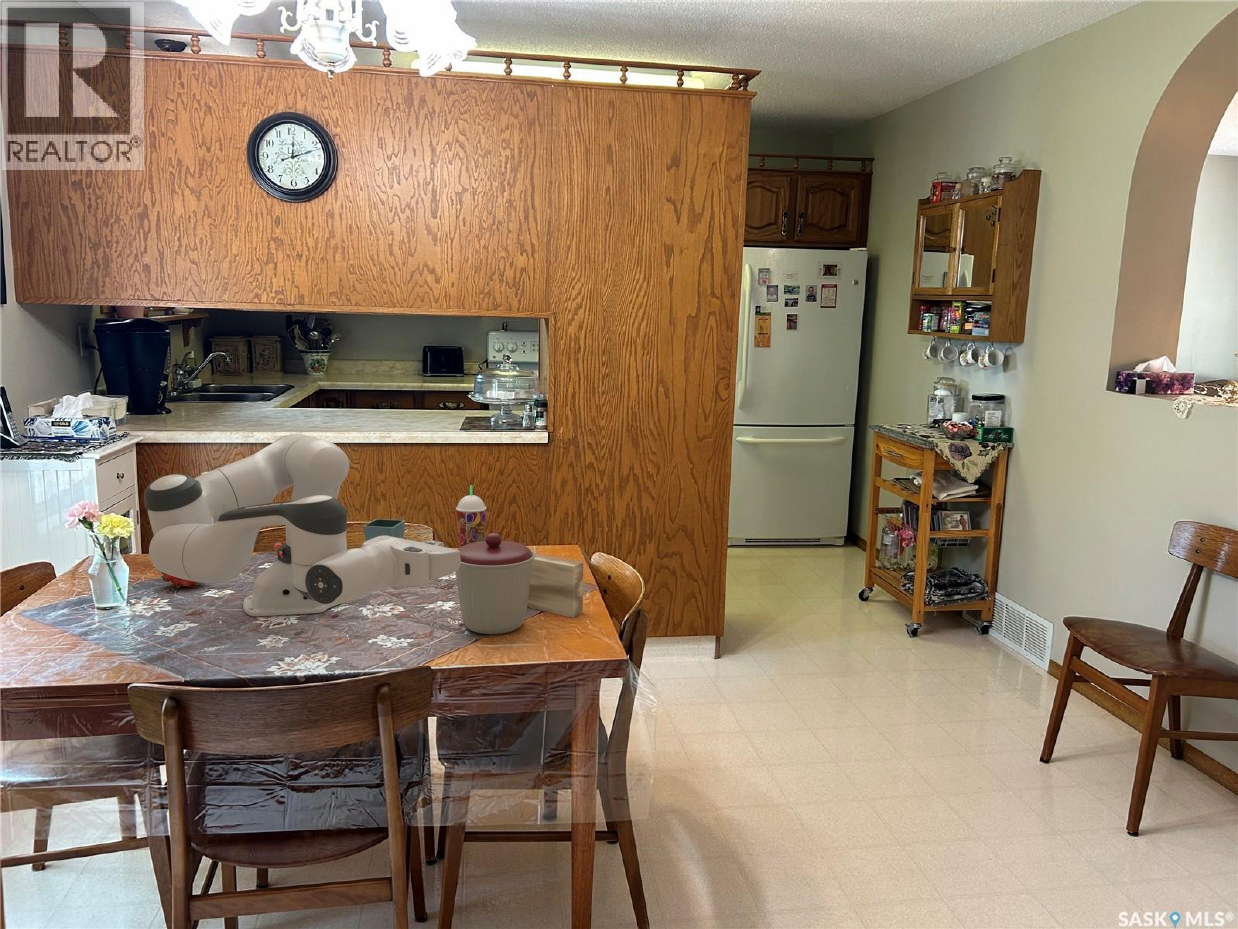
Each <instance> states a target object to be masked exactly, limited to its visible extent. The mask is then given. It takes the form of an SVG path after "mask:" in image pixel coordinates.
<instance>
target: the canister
mask: <svg viewBox="0 0 1238 929" xmlns="http://www.w3.org/2000/svg"><path fill="white" fill-rule="evenodd" d="M457 550H459V551H460V559H461V562H460V568H459V569H458V570H457V571H455V577H456V586H457V594H458V601H459V606H460V607H459V608H460V613H461V617H462V618H461V619H462V621H463V624H464V625H465V626H466V628H467V629H469V630H470V631H472V632H474V633H476V634H477V633H478V634H482V635H500V634H503V635H504V634H508V633H510V632H514V631H515V630H517V629H520V627H521V626H522V625H523V623H524V621H525V619H526V616H527V610H528V608H527V603H528V596H529V587H530V578H531V570H532V560H533V559H534V558H535V556H536V554H537V553H536V552H535V551H534V549H531V548H529V547H528V546H526V544H523V543H519V542H515V541H510V540H503V538H502V536H501V535H500V533H497V532H492V533H488V534H487V535H485V540H484V541H480V542H474V543H470V544H467V545H464V546H462V547H460V548H459V547H458V549H457Z"/></svg>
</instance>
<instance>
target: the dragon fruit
mask: <svg viewBox="0 0 1238 929" xmlns="http://www.w3.org/2000/svg"><path fill="white" fill-rule="evenodd" d="M160 573H161V574H162V576H161V578H162V581H163V582H165V583H170V582H171V583H172V584H173V585H174V587H175V586H176V587H175V588H176V589H180V588H181V586H182V587H188V588H193V589H194V588H195V587H196V588H199V587H201V586H203V585H202V584H201V583H200V584H197V583H198V582H195V581H190V580H185V579H181V578H177V577H174V576H171V575H168V574H166V573H163V572H161V571H160Z"/></svg>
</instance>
